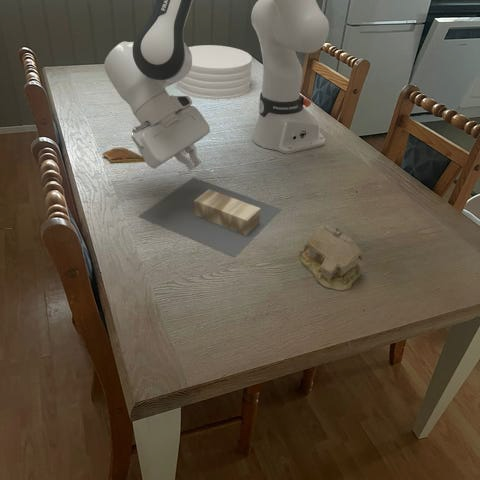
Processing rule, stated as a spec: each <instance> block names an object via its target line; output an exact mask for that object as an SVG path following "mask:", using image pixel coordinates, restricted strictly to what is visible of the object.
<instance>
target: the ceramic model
mask: <svg viewBox="0 0 480 480" xmlns="http://www.w3.org/2000/svg"><path fill="white" fill-rule="evenodd" d="M299 258H300V262H301V264H302V265H303V266H305V268H307V269H309V271H310V273H311V274H312V275H313V276H314V278H315V280H316V281H317V282H318V283H320V284H321V285H322V286H324V287H325V288H328V289H334V290H336V291H348V290H350V289H351V288H352V285H353V283H354V282H355V281H356V280H358V278H359V277H361V274H362V265H361V263H360V262H359V260H362V259H364V253H362V250H360V249H359V247H358V246H357V244H356V243H355V242H354V240H353V239H352V238H351V237H349V236H347V235H345V234H343V230H342V228H339V227H335V228H334V227H331V226H330V225H329V224H327V223H326V224H324V225H319V226H318V227H316V228H315V229H314V231H313V232H312V233H311V234H310V236H309V237H308V239H307V242H304V243H303V244H302V245H301V247H300V249H299Z"/></svg>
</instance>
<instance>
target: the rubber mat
mask: <svg viewBox="0 0 480 480" xmlns="http://www.w3.org/2000/svg"><path fill="white" fill-rule="evenodd" d="M209 189H210V190H213V191H215V192H218V193H221V194H223V195H226V196H229V197H232V198H234V199H237V200H240V201H242V202H245V203H248V204H251V205H253V206H256V207H259V208H261V209H260V219H259V223H258V224H257V225H256V226H255V227H254V228H253V229H252V230H251V231H250V232H249V233H248V234H247V235H244V234H241V233H239V232H236V231H234V230H231V229H229V228H226V227H224V226H221V225H219V224H216V223H214V222H211V221H209V220H206V219H204V218H201V217H199V216H196V215H195V213H194V200H196V199H197V198H198V197H199V196H201V195H202V194H203V193H205V192H206V191H207V190H209ZM281 211H282V208H279V207H278V206H277V207H276V206H274V205H271V204H268V203H265V202H263V201H259V200H257V199H254V198H252V197H249V196H246V195H243V194H240V193H238V192H235V191H232V190H230V189H226V188H223V187H222V186H221V187H220V186H218V185H215V184H213V183H210V182H207V181H205V180H202V179H199V178H196V177H192V178H190V179H189V180H188V181H186V182H185V183H183V184H182V185H180V186H179V187H178V188H176V189H175V190H174V191H172V192H170V194H168V195H166V196H165V197H164V198H163V199H161V200H160V201H158V202H156V203H155V204H154V205H152V206H151V207H150V208H148V209H147V210H145V211H144V212H143V213H141V214H140V215H138V216H137V217H138V218H140V219H142V220H145V221H147V222H150V223H152V224H155V225H157V226H160V227H161V228H164V229H167V230H169V231H170V232H173V233H176V234H178V235H180V236H182V237H185V238H188V239H190V240H193V241H194V242H197V243H199V244H202V245H203V246H206V247H208V248H212V249H213V250H215V251H219V252H221V253H224V254H225V255H227V256H230V257H232V258H236V257H237V256H238V255H239V254H240V253H241V252H242V251H243V250H244V249H245V248H246V247H247V246H248V245H249V244H250V243H251V242H252V240H254V239H255V238H256V237H257V236H258V235H259V233H261V231H263V229H264V228H265V227H266V226H267V225H268V224H269V223H270V222H271V221H272V220H273V219H274V218H275V217H276V216H277V215H278V214H279V213H280V212H281Z"/></svg>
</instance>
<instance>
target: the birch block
mask: <svg viewBox="0 0 480 480" xmlns="http://www.w3.org/2000/svg"><path fill="white" fill-rule="evenodd" d="M260 209H261V208H259V207H256V206H253V205H251V204H248V203H245V202H242V201H240V200H237V199H234V198H232V197H229V196H226V195H223V194H221V193H218V192H215V191H213V190H210V189H209V190H207V191H206V192H205V193H203V194H202V195H201V196H199V197H198V198H197V199H196V200H194V213H195V215H196V216H199V217H201V218H204V219H206V220H209V221H211V222H214V223H216V224H219V225H221V226H224V227H226V228H229V229H231V230H234V231H236V232H239V233H241V234H244V235H247V234H248V233H249V232H250V231H251V230H252V229H253V228H254V227H255V226H256V225H257V224H258V223H259V219H260Z"/></svg>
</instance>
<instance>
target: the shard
mask: <svg viewBox="0 0 480 480" xmlns="http://www.w3.org/2000/svg"><path fill="white" fill-rule="evenodd" d="M102 156H103V157H105V158H107V159H108V161H109V163H110V164H116V163H141V162H142V163H143V162H145V160H144V158H143V157H142V155H141V154H138V153H136V152H135V151H132V150H131V149H130V150H129V149H128V148H125V147H121V146H120V147H119V146H118V147H115V148H112V149H109V150H107V151H104V152H103V153H102Z"/></svg>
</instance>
